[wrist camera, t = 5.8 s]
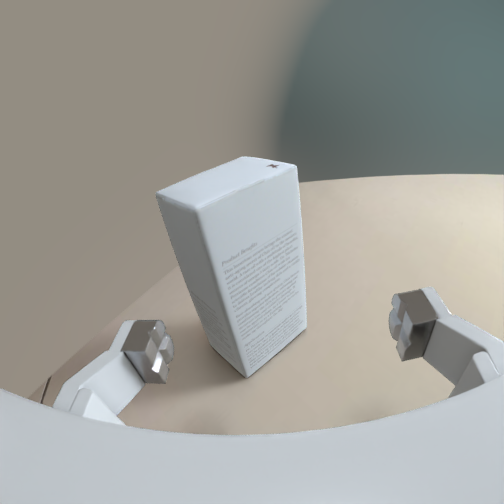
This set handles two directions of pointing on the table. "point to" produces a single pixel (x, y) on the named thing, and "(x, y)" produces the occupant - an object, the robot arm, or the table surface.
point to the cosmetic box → (241, 255)
